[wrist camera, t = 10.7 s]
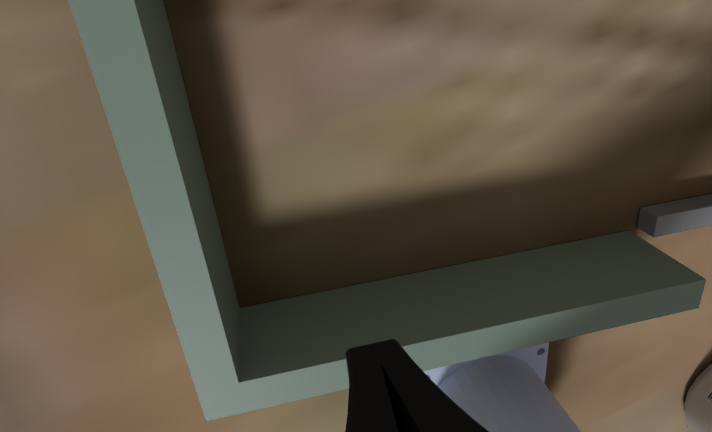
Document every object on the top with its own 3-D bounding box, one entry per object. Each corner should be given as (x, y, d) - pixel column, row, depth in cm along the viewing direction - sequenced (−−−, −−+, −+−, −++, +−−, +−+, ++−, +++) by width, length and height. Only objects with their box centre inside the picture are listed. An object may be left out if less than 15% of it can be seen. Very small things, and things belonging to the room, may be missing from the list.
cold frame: (624, 255, 27) (698, 307, 23) (213, 340, 24) (206, 421, 19) (702, -193, 18) (849, -250, 14) (70, -154, 15) (-2, -212, 11)
